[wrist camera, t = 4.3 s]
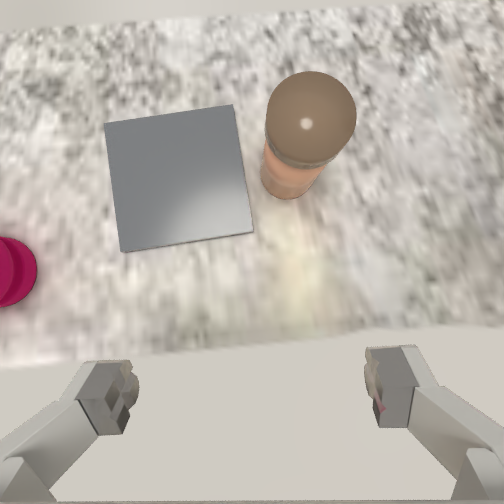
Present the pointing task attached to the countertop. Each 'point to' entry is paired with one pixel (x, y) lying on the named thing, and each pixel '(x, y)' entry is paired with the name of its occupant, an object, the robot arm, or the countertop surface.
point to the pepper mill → (15, 271)
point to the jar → (304, 131)
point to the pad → (177, 178)
